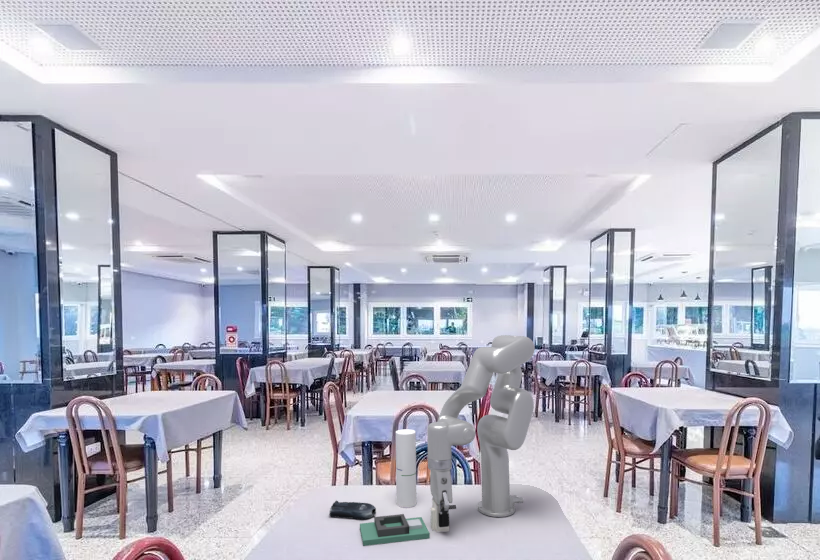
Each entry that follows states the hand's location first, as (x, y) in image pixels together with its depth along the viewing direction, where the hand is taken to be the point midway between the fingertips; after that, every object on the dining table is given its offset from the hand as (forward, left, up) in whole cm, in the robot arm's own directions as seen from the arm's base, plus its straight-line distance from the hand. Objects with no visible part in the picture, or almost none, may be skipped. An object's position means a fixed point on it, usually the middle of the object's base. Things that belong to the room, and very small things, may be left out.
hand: (440, 520), depth 142 cm
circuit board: (+15, 0, -2) cm, 15 cm away
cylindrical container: (+7, -21, -3) cm, 22 cm away
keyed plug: (0, 0, -2) cm, 2 cm away
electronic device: (+26, -17, -3) cm, 31 cm away
